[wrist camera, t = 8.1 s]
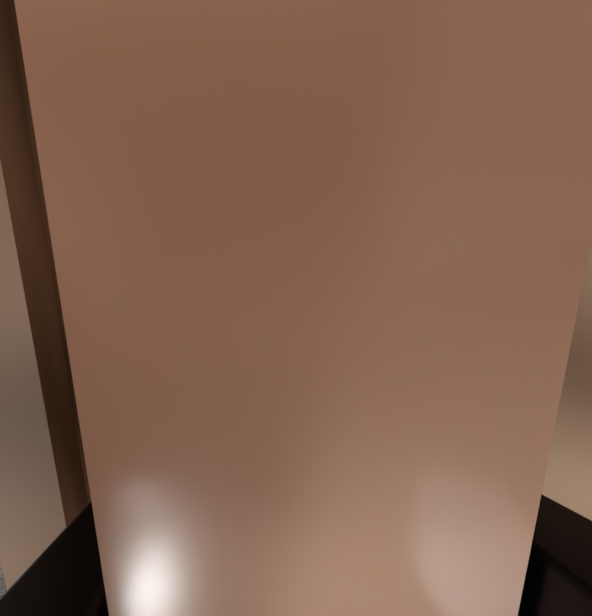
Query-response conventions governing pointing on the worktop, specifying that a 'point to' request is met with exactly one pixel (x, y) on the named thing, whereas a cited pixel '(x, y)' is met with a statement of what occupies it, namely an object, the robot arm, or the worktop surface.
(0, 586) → the worktop surface
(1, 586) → the worktop surface
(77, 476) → the brown ridged slab
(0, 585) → the worktop surface
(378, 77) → the peach long block
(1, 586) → the worktop surface
